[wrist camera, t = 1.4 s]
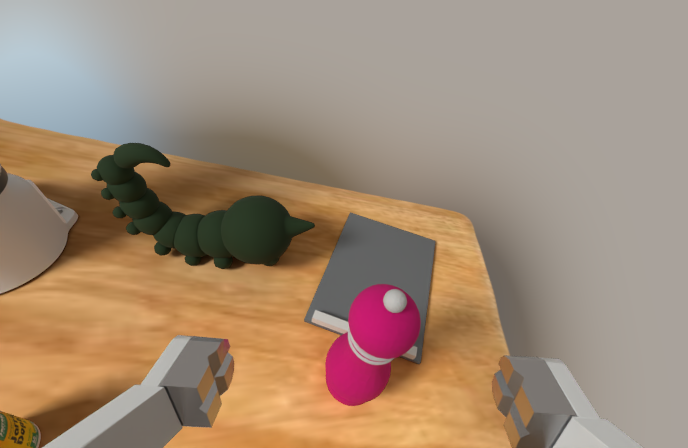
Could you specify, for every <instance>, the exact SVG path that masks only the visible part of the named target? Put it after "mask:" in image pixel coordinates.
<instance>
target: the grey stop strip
mask: <svg viewBox="0 0 688 448" xmlns="http://www.w3.org/2000/svg"><path fill="white" fill-rule="evenodd" d="M311 322H313V323H316V324H318V325H321V326H324V327H326V328H329V329H332V330H334V331H337V332H340V333H343V334H344V333H346V332H348V328H349V323H348V322H347V321H344V320H342V319H339V318H336V317H333V316H331V315H328V314H325V313H323V312H320V311H317V310H315V312H314V315H313V317H312V321H311ZM416 354H417V347H415V346H413V347H412V348H411V349H410V350H409V351H407V352H406V353H405V354H403V355H402V356H404V357H407V358H410V359H412V360H413V359H414V358H415V357H416ZM409 361H410V360H409Z"/></svg>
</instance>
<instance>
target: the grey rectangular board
mask: <svg viewBox="0 0 688 448" xmlns="http://www.w3.org/2000/svg"><path fill="white" fill-rule="evenodd" d="M434 248H435V241H434V240H431V239H428V238H425V237H422V236H419V235H416V234H413V233H410V232H407V231H404V230H401V229H398V228H395V227H392V226H389V225H386V224H383V223H380V222H377V221H374V220H371V219H368V218H365V217H362V216H359V215H356V214H353V213H350V214H349V217H348V219H347V221H346V224H345V226H344V228H343V231H342V233H341V235H340V238H339V240H338V242H337V245H336V247H335V249H334V252H333V254H332V256H331V259H330V261H329V263H328V266H327V268H326V270H325V273H324V275H323V277H322V279H321V282H320V284H319V286H318V289H317V291H316V293H315V296H314V298H313V300H312V303H311V305H310V307H309V310H308V312H307V314H306V317H305V319H304V321H305V322H307V323H310V324H313V325H315V326H318V327H321V328H324V329H326V330H329V331H332V332H334V333H337V334H340V335H343V333H340V332H337V331H334V330H332V329H329V328H326V327H324V326H321V325H318V324H316V323H313V322H311V321H312V317H313V315H314V312H315V310H317V311H320V312H323V313H325V314H328V315H331V316H333V317H336V318H339V319H342V320H344V321H347V322H348V318H349V311H350V307H351V305H352V303H353V301H354V299H355V298H356V297H357V296H358V294H359V293H360V292H362V291H363V290H364V289H366V288H368V287H370V286H372V285H377V284H388V285H393V286H396V287H398V288H400V289H402V290H403V291H405V292H406V293H407V294H408V295H409V296H410V297H411V298H412V299H413V300H414V302H415V304H416V305H417V308H418V310H419V313H420V319H421V325H420V332H419V336H418V338H417V340H416V342H415V344H414V345H413V346H415V347H417V354H416V357H415V358H414V359H413V360H412V359H410V358H407V357H404V356H402V355H401V356H399V357H401V358H404V359H407V360H410V361H412V362H415V363H417V364H420V363H421V356H422V347H423V339H424V331H425V323H426V314H427V306H428V298H429V290H430V281H431V273H432V265H433V257H434Z"/></svg>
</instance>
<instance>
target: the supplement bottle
mask: <svg viewBox="0 0 688 448" xmlns="http://www.w3.org/2000/svg"><path fill="white" fill-rule="evenodd" d="M40 440H41V433H40V430H39V428H38V426H37V425H36V424H35V423H33V422H31V421H29V420H26V419H23V418H20V417H17V416H14V415H11V414H8V413H5V412H2V411H0V448H39V444H40Z"/></svg>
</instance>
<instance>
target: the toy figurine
mask: <svg viewBox="0 0 688 448" xmlns="http://www.w3.org/2000/svg"><path fill="white" fill-rule="evenodd" d="M140 163H156V164H159V165H162V166H164V167H169V166H170V162H169V160H168V159H167V158H166V157H165V156H164V155H163V154H162V153H161V152H159V151H158V150H156V149H154V148H152V147H150V146H148V145H144V144H141V143H128V144H123V145H121V146H119V147H118V148H116V149H115V152H114V154H113V155H109V156H106V157H104V158H102V159H101V160H100V161H99V163H98V165H97V169H95V170H93V171H92V173H91V176H92V178H93V179H95V180H97V181H102V180H103V181H104V182H106V183H107V188H105V189H103V190H102V191H101V195H102V197H103V198H105V199H107V200H110V199H113V198H115V199H117V200H118V201H119V204H120V206H119V207H116V208H115V209H114V210H113V215H114V216H115V217H116V218H124V217H125V216H126V215H127V216H129V217H130V218H132V219H133V222H130V223H129V224H128V225H127V227H126V230H127V232H128V233H130V234H132V235H137V234H139V233H140V232H143V233H145V234H148V235H153V236H154V238H155V239H156V240H157V241H158V242H157V243H156V245H155V246H154V249H155V252H156V253H157V254H159V255H167V254H168V253H169V252H170V251H171V248H176V249H177V251H179V252H180V253H182V254H184V255H185V256H186V257H185V262H186V263H187V264H189V265H191V266H193V265H197V264H198V263H199V262H200V260H201V257H202V256H205V255H209V256H211V257H214V264H215V266H216V267H218V268H221V269H226V268H228V267H230V266H231V264H232V262H233V257H232V256H234V257H235V258H237V259H238V260H240V261H243V262H245V263H250V264H264V265H266V266H272V265H274V264H276V263H277V262H278V260H279V257H280V256H281V255H282V254H283V253H284V252H285V251H286V249H287V248H288V246H289V245H290V242H291V240H292V237H294V236H296V235H298V234H301V233H303V232H305V231H308V230H310V229H312V228H314V226H315V224H314V223H312V222H308V221H305V220H301V219H298V218H294V217H291V216H290V215H289V213H288V211H287V210H286V209H285V207H284V206H282V205H281V204H280V203H279V202H277V201H276V200H274V199H271V198H269V197H265V196H249V197H246V198H243V199H240V200H238V201H237V202H235V203H234V204H233V205H232V206H231V207H230V208H229V209H228V210H227V211H226V210H219V211H214V212H211V213H209V214H207V215H206V216H205V215H201V214H191V215H185V214H183V213H180V212H174V211H173V212H172V211H171V209H170V208H169V207H168V206H167V205H166V204H164V203H162V202H160V201H159V199H158V197H157V195H156V194H155V193H154V192H153V191H152V190H151V189H148V188H147V186H146V182H145V180H144V178H143V177H142V176H141V175H140V174H138V173H136V172H134V167H135V166H137V165H138V164H140Z"/></svg>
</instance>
